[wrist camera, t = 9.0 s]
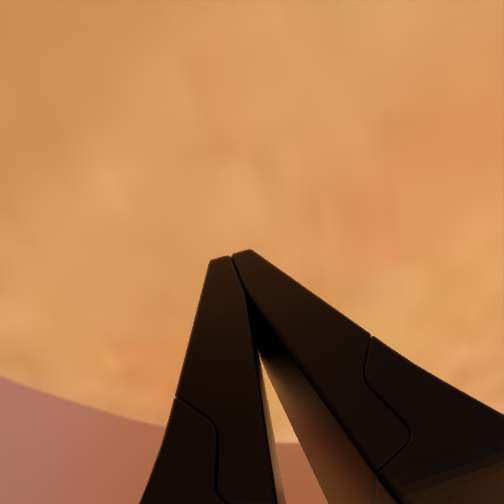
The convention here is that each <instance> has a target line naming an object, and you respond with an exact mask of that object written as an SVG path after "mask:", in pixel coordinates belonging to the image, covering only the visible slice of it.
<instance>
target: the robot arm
mask: <svg viewBox="0 0 504 504" xmlns="http://www.w3.org/2000/svg"><path fill="white" fill-rule="evenodd" d="M259 356H260V358H261V361H262V363H263V366H264V368H265V370H266V372H267V374H268V377H269V379H270V381H271V383H272V385H273V387H274V389H275V391H276V393H277V396H278V398H279V400H280V402H281V404H282V406H283V408H284V410H285V413H286V415H287V417H288V419H289V421H290V423H291V425H292V427H293V430H294V432H295V434H296V436H297V438H298V440H299V442H300V444H301V447H302V449H303V451H304V453H305V455H306V457H307V459H308V461H309V464H310V466H311V468H312V470H313V472H314V474H315V476H316V478H317V481H318V483H319V485H320V486H321V489H322V491H323V493H324V495H325V498H326V499H327V502H328V504H504V415H503V414H502V413H500V412H498V411H496V410H494V409H493V408H491V407H489V406H487V405H485V404H484V403H482V402H480V401H478V400H477V399H475V398H473V397H471V396H469V395H468V394H466V393H464V392H462V391H460V390H459V389H457V388H455V387H453V386H452V385H450V384H448V383H446V382H444V381H443V380H441V379H439V378H438V377H436V376H434V375H433V374H431V373H429V372H427V371H426V370H424V369H422V368H421V367H419V366H417V365H416V364H414V363H413V362H411V361H410V360H408V359H407V358H405V357H404V356H402V355H401V354H399V353H398V352H396V351H395V350H393V349H392V348H390V347H389V346H387V345H386V344H384V343H383V342H382V341H380V340H379V339H377V338H376V337H375V336H372V337H371V334H370V333H369V332H367V331H366V330H364V329H363V328H362V327H360V326H359V325H357V324H356V323H355V322H353V321H352V320H350V319H349V318H348V317H346V316H345V315H343V314H342V313H340V312H339V311H338V310H336V309H335V308H333V307H332V306H331V305H329V304H328V303H326V302H325V301H324V300H322V299H321V298H319V297H318V296H317V295H315V294H314V293H312V292H311V291H309V290H308V289H307V288H305V287H304V286H302V285H301V284H300V283H298V282H297V281H295V280H294V279H293V278H291V277H290V276H288V275H287V274H285V273H284V272H283V271H281V270H280V269H278V268H277V267H276V266H274V265H273V264H271V263H270V262H269V261H267V260H266V259H264V258H263V257H262V256H260V255H259V254H257V253H256V252H254V251H253V250H251V249H248V250H244V251H241V252H237V253H234V254H232V256H231V257H230V256H228V255H227V256H223V257H219V258H216V259H212V260H211V261H210V262H209V265H208V268H207V272H206V276H205V280H204V284H203V288H202V292H201V296H200V300H199V304H198V307H197V311H196V315H195V319H194V323H193V327H192V331H191V335H190V339H189V343H188V346H187V350H186V354H185V358H184V362H183V366H182V370H181V374H180V378H179V382H178V385H177V389H176V393H175V397H176V398H175V399H174V400H173V404H172V408H171V412H170V416H169V419H168V423H167V426H166V430H165V433H164V436H163V440H162V443H161V447H160V450H159V452H158V455H157V458H156V460H155V463H154V466H153V469H152V472H151V474H150V477H149V480H148V482H147V485H146V487H145V490H144V493H143V495H142V497H141V500H140V502H139V504H286V500H285V495H284V489H283V484H282V478H281V472H280V467H279V461H278V456H277V450H276V444H275V439H274V433H273V428H272V422H271V417H270V411H269V405H268V400H267V394H266V389H265V383H264V378H263V372H262V367H261V363H260V358H259Z"/></svg>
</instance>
